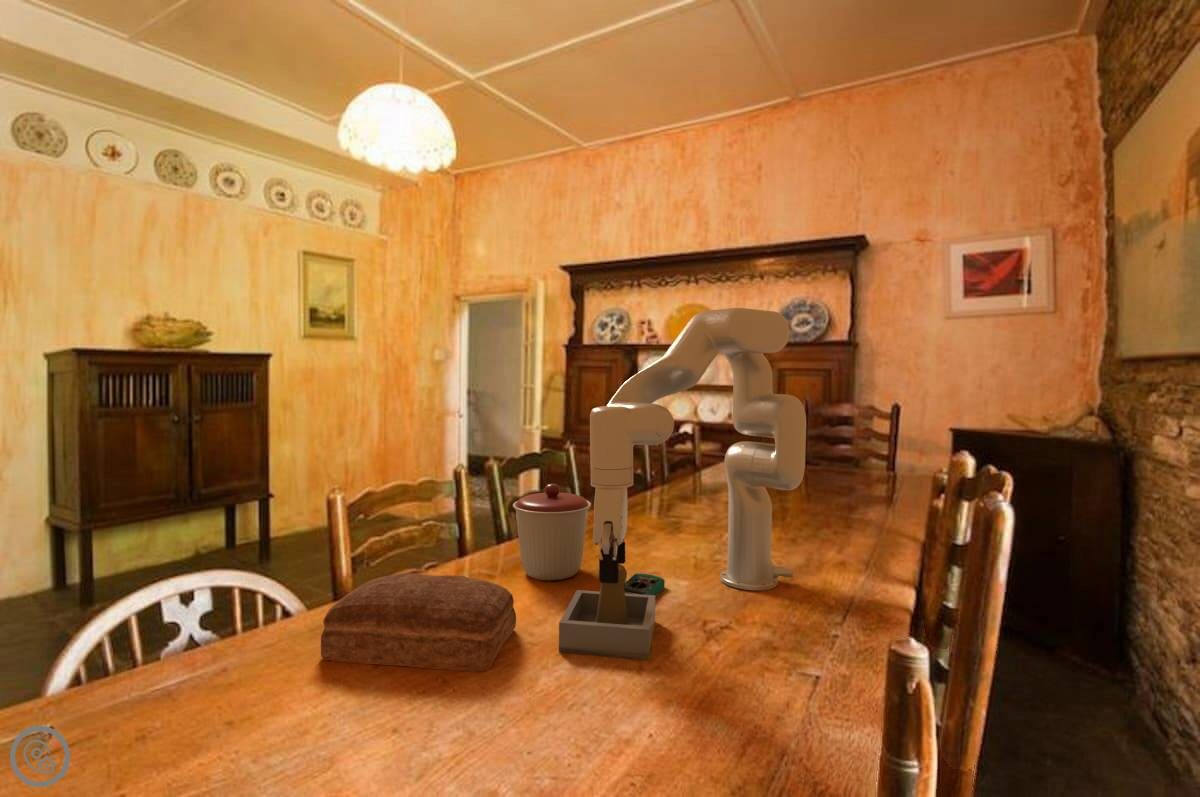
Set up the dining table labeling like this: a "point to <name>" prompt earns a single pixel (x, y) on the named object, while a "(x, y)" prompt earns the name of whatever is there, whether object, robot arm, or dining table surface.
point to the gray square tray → (607, 628)
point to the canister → (551, 533)
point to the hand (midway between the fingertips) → (613, 572)
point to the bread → (420, 623)
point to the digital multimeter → (644, 584)
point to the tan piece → (613, 601)
